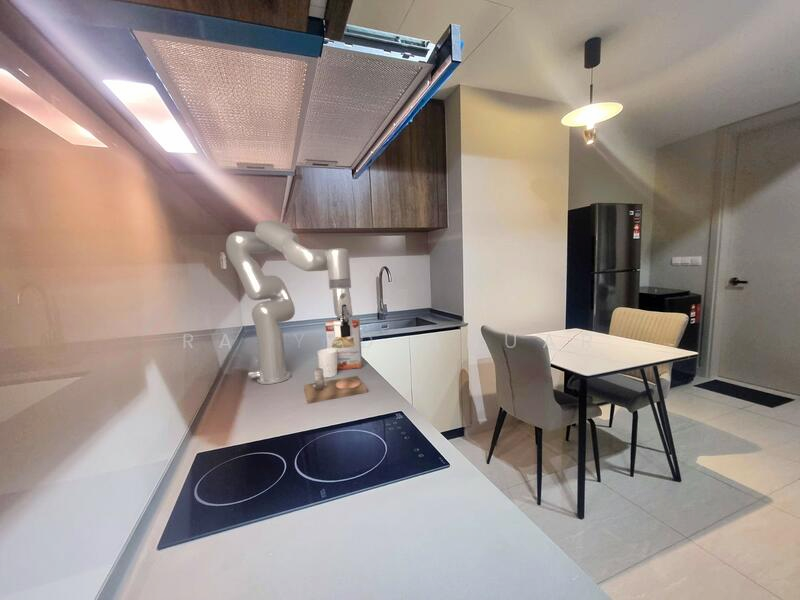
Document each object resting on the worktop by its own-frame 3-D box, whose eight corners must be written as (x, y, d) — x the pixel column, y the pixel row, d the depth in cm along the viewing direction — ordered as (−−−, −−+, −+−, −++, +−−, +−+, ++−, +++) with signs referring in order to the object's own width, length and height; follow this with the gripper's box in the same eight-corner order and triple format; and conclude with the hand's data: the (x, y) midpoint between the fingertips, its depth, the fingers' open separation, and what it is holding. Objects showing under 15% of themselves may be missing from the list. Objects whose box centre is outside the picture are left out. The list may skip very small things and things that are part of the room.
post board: (307, 403, 104) (305, 378, 103) (304, 388, 117) (302, 366, 116) (366, 392, 111) (365, 368, 110) (357, 379, 124) (356, 358, 123)
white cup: (332, 379, 126) (330, 354, 125) (315, 377, 128) (313, 353, 127) (342, 372, 133) (340, 348, 132) (325, 371, 136) (324, 348, 135)
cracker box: (328, 370, 136) (324, 322, 134) (330, 366, 142) (327, 319, 140) (361, 368, 136) (358, 320, 134) (362, 364, 142) (359, 318, 140)
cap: (355, 335, 111) (353, 321, 110) (335, 338, 109) (334, 323, 108) (351, 332, 117) (350, 318, 117) (333, 334, 115) (331, 320, 114)
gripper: (355, 284, 104) (359, 338, 106) (346, 282, 120) (349, 329, 122) (332, 286, 102) (337, 341, 104) (325, 284, 118) (329, 331, 120)
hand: (343, 334), depth 113 cm, fingers closed on cap, 6 cm apart
